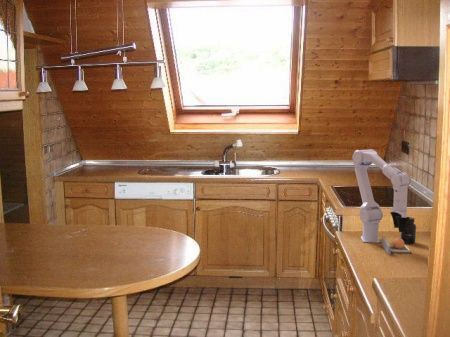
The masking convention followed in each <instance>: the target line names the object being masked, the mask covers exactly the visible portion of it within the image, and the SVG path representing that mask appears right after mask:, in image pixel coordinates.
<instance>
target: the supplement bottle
mask: <svg viewBox="0 0 450 337" xmlns="http://www.w3.org/2000/svg"><path fill="white" fill-rule="evenodd" d="M408 217H409V218H410V219H409V220H408V222H407V224H406V227H405V231H404V232H400V237H399V238H401V239H402V240H403V241H404V243H405V244H404V245H414V244H416V240H417V239H416V237H417V224H416V223H415V217H411V216H408Z"/></svg>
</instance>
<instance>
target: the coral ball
mask: <svg viewBox="0 0 450 337" xmlns="http://www.w3.org/2000/svg"><path fill="white" fill-rule="evenodd" d="M392 245H393V246H394V247H395V248H396V249H402V248H403V247H404V245H406V244H405V243H404V241H403V240H402V239H401V238H400V237H397V238H395V239H393V241H392Z"/></svg>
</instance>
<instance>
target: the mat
mask: <svg viewBox="0 0 450 337" xmlns="http://www.w3.org/2000/svg"><path fill="white" fill-rule="evenodd" d="M390 246H391V254H401V255H402V254H405V255H407V254H408V255H412V251H411V250H410V249H409V247H408V246H407V244H404V247H403V248H402V249H396V248H395V247H394V246H393V244H390Z"/></svg>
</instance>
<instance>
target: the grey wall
mask: <svg viewBox="0 0 450 337" xmlns="http://www.w3.org/2000/svg"><path fill="white" fill-rule="evenodd" d="M390 245H391V244H390V243H389V241H388V240H387V238H386V237H385V236H384V235H383V236H382V235H381V246H382V247H383V249H384V250H385V253H386V254H387V255H389V256H390V255H391V254H392V253H391V246H390Z"/></svg>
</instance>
